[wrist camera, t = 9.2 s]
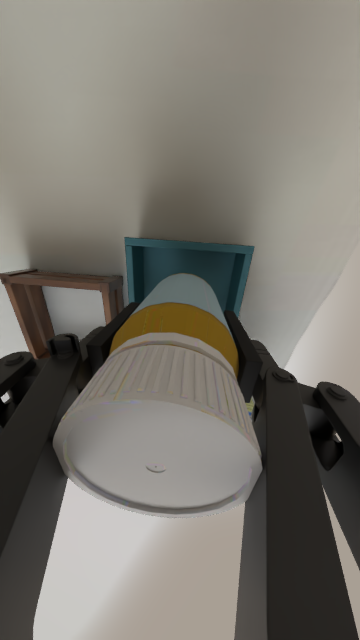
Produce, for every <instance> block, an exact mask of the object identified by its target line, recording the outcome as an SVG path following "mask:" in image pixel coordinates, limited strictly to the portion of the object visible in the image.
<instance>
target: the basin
mask: <svg viewBox="0 0 360 640" xmlns="http://www.w3.org/2000/svg"><path fill="white" fill-rule="evenodd" d="M124 239H125V252H126V266H127V281H128V296H129V304H130V303H131V302H136V303H140V304H141V303H142V302H143V301H144V300H145V298H146V297H147V296H148V295H149V294H150V293H151V292H152V290H153V289H154V288H155V287H156V286H157V285H158V284H159V283H160V282H161V281H162V280H163V279H165V278H167V277H168V276H170V275H173V274H178V273H188V274H193V275H196V276H198V277H200V278H202V279H203V280H205V281H206V282H207V283H208V284H209V285H210V286H211V288H212V290H213V291H214V293H215V295H216V298H217V300H218V303H219V305H220V308H221V310H222V312H223V315H224V310H228V311H234V312H235V314H236V316H237V318H238V316H239V312H240V307H241V303H242V298H243V294H244V290H245V285H246V281H247V277H248V272H249V268H250V263H251V259H252V254H253V251H254V246H243V245H229V244H215V243H201V242H186V241H172V240H158V239H144V238H129V237H124Z"/></svg>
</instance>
